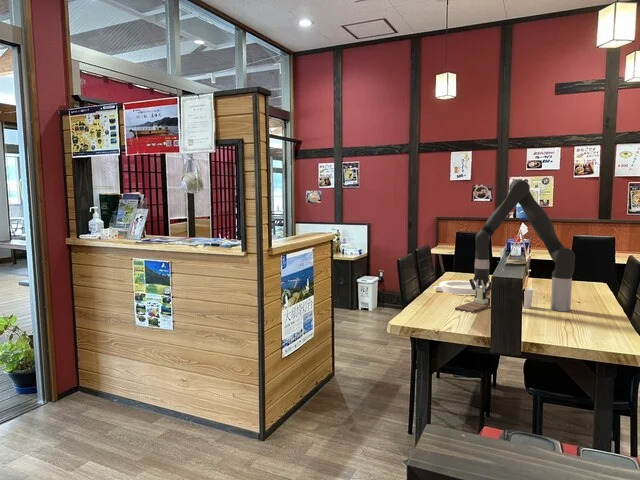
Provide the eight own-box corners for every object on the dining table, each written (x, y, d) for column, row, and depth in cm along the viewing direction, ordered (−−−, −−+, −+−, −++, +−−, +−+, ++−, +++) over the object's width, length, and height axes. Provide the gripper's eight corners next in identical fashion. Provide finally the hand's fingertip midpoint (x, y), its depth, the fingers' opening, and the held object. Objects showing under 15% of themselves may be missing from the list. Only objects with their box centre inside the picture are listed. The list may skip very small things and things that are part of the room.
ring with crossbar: (491, 291, 285) (492, 283, 285) (474, 298, 265) (474, 290, 264) (450, 285, 304) (451, 278, 304) (431, 292, 283) (431, 284, 283)
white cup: (517, 304, 247) (517, 286, 246) (532, 306, 243) (533, 288, 242) (515, 307, 240) (516, 289, 239) (531, 309, 236) (532, 290, 235)
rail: (476, 302, 252) (476, 295, 252) (493, 305, 245) (493, 298, 244) (454, 309, 235) (455, 302, 235) (472, 313, 228) (472, 305, 228)
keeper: (477, 301, 249) (478, 287, 248) (488, 302, 244) (488, 288, 244) (473, 302, 245) (473, 288, 244) (483, 304, 241) (484, 289, 240)
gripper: (497, 268, 241) (496, 299, 242) (473, 265, 251) (472, 295, 252) (491, 269, 235) (490, 301, 237) (466, 266, 245) (465, 297, 247)
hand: (480, 298), depth 245 cm, fingers closed on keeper, 3 cm apart
